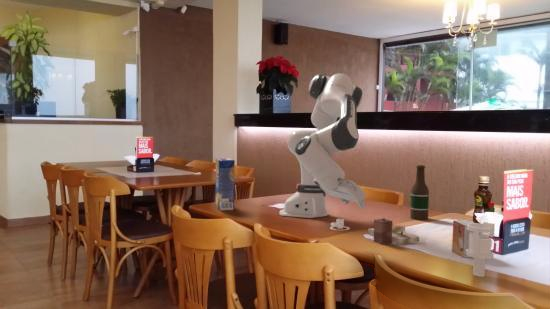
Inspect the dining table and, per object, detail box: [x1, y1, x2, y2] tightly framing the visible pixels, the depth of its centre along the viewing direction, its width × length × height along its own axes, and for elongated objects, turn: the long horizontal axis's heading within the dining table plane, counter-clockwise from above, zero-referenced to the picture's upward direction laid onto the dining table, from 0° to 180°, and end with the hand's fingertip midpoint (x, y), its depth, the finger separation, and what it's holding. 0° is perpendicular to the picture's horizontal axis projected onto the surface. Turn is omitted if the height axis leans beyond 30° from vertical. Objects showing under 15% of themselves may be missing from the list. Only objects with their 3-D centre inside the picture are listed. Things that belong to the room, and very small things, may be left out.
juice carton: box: [214, 158, 236, 211], centre depth 234 cm, size 12×8×24 cm, turn 16°
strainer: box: [466, 221, 495, 278], centre depth 132 cm, size 7×7×15 cm
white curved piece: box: [329, 218, 351, 231], centre depth 191 cm, size 9×8×4 cm
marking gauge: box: [373, 217, 406, 246], centre depth 169 cm, size 12×4×9 cm, turn 115°
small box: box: [451, 219, 482, 259], centre depth 153 cm, size 8×6×10 cm
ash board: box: [367, 227, 420, 246], centre depth 175 cm, size 9×18×2 cm, turn 25°
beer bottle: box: [409, 164, 430, 221], centre depth 213 cm, size 8×8×24 cm
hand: (355, 204), depth 162 cm, fingers open, 8 cm apart
